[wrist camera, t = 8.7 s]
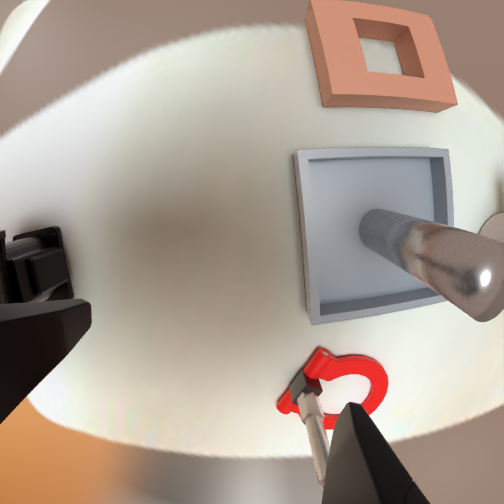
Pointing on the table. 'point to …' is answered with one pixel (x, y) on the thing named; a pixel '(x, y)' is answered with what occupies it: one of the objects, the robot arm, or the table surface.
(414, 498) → the robot arm
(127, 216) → the table surface
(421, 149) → the tray
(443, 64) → the block
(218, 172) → the table surface
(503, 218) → the mug
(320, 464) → the tow hook
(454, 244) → the pin
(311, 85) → the table surface
